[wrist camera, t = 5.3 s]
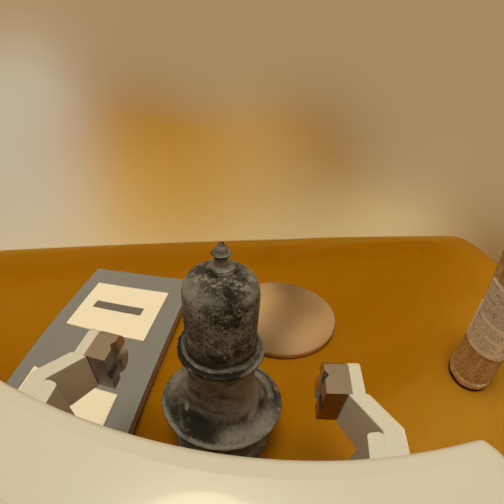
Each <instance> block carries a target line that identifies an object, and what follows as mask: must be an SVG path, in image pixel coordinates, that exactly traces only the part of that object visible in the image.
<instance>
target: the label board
mask: <svg viewBox="0 0 504 504" xmlns="http://www.w3.org/2000/svg"><path fill="white" fill-rule="evenodd" d="M182 283H183V280H181V279H173V278H165V277H157V276H150V275H142V274H135V273H127V272H120V271H113V270H106V269H98V270H97V271H96V272H95V273H94V274H93V275H92V276H91V278H90V279H89V280H88V281H87V282H86V283H85V284H84V285H83V286H82V288H81V289H80V290H79V291H78V292H77V293H76V294H75V296H74V297H73V298H72V299H71V300H70V301H69V303H68V304H67V305H66V306H65V307H64V308H63V310H62V311H61V312H60V313H59V314H58V316H57V317H56V318H55V319H54V320H53V322H52V323H51V324H50V325H49V327H48V328H47V329H46V330H45V332H44V333H43V334H42V335H41V337H40V338H39V339H38V340H37V342H36V343H35V344H34V346H33V347H32V348H31V350H30V351H29V352H28V354H27V355H26V356H25V358H24V359H23V360H22V362H21V363H20V364H19V366H18V367H17V368H16V370H15V371H14V373H13V374H12V375H11V377H10V378H9V380H8V381H7V382H6V384H8V385H10V386H12V387H14V388H16V389H18V390H20V388H21V387H22V385H23V384H24V382H25V381H26V379H27V378H28V376H29V375H30V373H31V372H32V371H34V370H36V369H38V368H40V367H42V366H44V365H46V364H48V363H50V362H52V361H54V360H56V359H58V358H60V357H62V356H64V355H66V354H68V353H70V352H74V351H75V350H76V348H77V347H78V345H79V344H80V343H81V341H82V340H83V338H84V337H85V335H86V334H87V332H88V331H89V330H90V329H92V328H93V329H97V330H101V331H105V332H109V333H113V334H117V335H121V336H123V338H124V341H125V343H124V345H123V346H124V347H125V348H126V349H127V351H128V363H127V366H126V368H125V370H124V371H122V372H121V373H120V376H121V378H120V380H119V382H118V384H117V386H116V388H115V389H114V388H110V387H106V386H102V385H99V384H98V386H97V387H96V388H94V389H93V390H92V391H90V392H89V393H88V394H86V395H85V396H83V397H82V398H81V399H79V400H78V401H77V402H75V403H74V404H73V405H71V406H70V408H71V409H72V411H73V412H74V414H75V416H78V417H80V418H83V419H86V420H88V421H91V422H94V423H97V424H100V425H103V426H106V427H109V428H112V429H115V430H118V431H121V432H125V433H128V434H131V435H133V433H134V431H135V428H136V425H137V423H138V420H139V417H140V415H141V412H142V410H143V407H144V405H145V402H146V400H147V397H148V394H149V392H150V389H151V387H152V384H153V382H154V379H155V377H156V375H157V372H158V370H159V367H160V365H161V362H162V360H163V357H164V355H165V353H166V350H167V348H168V345H169V343H170V341H171V338H172V336H173V333H174V331H175V329H176V326H177V324H178V322H179V319H180V317H181V315H182V312H183V311H182V299H181V287H182Z"/></svg>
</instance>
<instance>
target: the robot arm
mask: <svg viewBox="0 0 504 504" xmlns="http://www.w3.org/2000/svg"><path fill="white" fill-rule="evenodd" d="M124 343H125V341H124V338H123V336H121V335H117V334H113V333H109V332H105V331H101V330H97V329H93V328H92V329H90V330H89V331H88V332H87V334H86V335H85V337H84V338H83V340H82V341H81V343H80V344H79V345H78V347H77V348H76V350H75V351H74V352H70V353H68V354H66V355H64V356H62V357H60V358H58V359H56V360H54V361H52V362H50V363H48V364H46V365H44V366H42V367H40V368H38V369H36V370H34V371H32V372H31V373H30V375H29V376H28V378H27V379H26V381H25V382H24V384H23V385H22V387H21V388H20V390H18V389H16V388H14V387H12V386H10V385H8V384H6V383H4V382H3V381H1V380H0V504H504V456H503V455H502V454H501V453H500V452H498V451H497V450H496V449H495V448H494V447H492V446H491V445H490V444H488V443H487V442H485V441H483V440H477V441H472V442H468V443H464V444H460V445H456V446H451V447H447V448H442V449H437V450H432V451H426V452H420V453H414V454H410V452H409V447H408V443H407V438H406V434H405V429H404V428H403V427H402V426H401V425H400V424H399V423H398V422H397V421H396V420H395V419H394V418H393V417H392V416H391V415H390V414H389V413H388V412H387V411H386V410H385V409H383V408H382V407H381V406H380V405H379V404H378V403H377V402H376V401H375V400H374V399H373V398H372V397H371V396H370V395H369V394H366V392H365V387H364V382H363V377H362V373H361V368H360V365H359V363H331V362H322V364H321V366H320V374H319V375H317V378H316V382H315V398H316V399H317V402H316V405H315V412H316V419H324V420H336V422H337V423H338V424H339V426H340V427H341V429H342V430H343V431H344V433H345V434H346V436H347V437H348V438H349V440H350V441H351V442H352V444H353V445H354V447H355V448H356V449H357V450H356V451H355V452H354V454H353V455H352V456H351V457H350V459H349V460H336V461H300V460H277V459H263V458H252V457H243V456H234V455H227V454H220V453H213V452H207V451H201V450H196V449H190V448H185V447H180V446H175V445H171V444H166V443H162V442H158V441H154V440H150V439H146V438H142V437H139V436H135V435H131V434H128V433H125V432H121V431H118V430H115V429H112V428H109V427H106V426H103V425H100V424H97V423H94V422H91V421H88V420H86V419H83V418H80V417H78V416H75V414H74V412H73V411H72V409H71V408H70V406H71V405H73V404H74V403H75V402H77V401H78V400H79V399H81V398H82V397H83V396H85V395H86V394H88V393H89V392H90V391H92V390H93V389H94V388H96V387H97V386H98V384H99V385H102V386H106V387H110V388H114V389H115V388H116V386H117V384H118V382H119V380H120V378H121V376H120V373H121V372H122V371H124V370H125V368H126V366H127V363H128V351H127V349H126V348H125V347H124V346H123V345H124Z"/></svg>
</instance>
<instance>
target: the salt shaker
mask: <svg viewBox="0 0 504 504" xmlns="http://www.w3.org/2000/svg"><path fill="white" fill-rule="evenodd" d="M211 255H212V256H213V257H215V259H212V260H207V261H205V262H202V263H200V264H198V265H196V266H195V267H193V268H192V269H191V270H190V271H189V273H188V274H187V275H186V276H185V277H184V280H183V283H182V287H181V299H182V311H183V322H184V331H183V332H182V334H181V335H180V337H179V338H178V343H177V353H178V357H179V359H180V361H181V363H182V365H183V366H184V367H182V368H180V369H179V370H178V371H177V372H176V373H175V374H174V375H173V376H172V377H170V379H169V381H168V382H167V384H166V386H165V388H164V391H163V396H162V408H163V414H164V416H165V418H166V420H167V422H168V424H169V426H170V427H171V428H172V429H173V430H174V431H175V433H176V434H177V440H178V444H179V445H180V447H185V448H190V449H196V450H201V451H207V452H213V453H220V454H227V455H234V456H243V457H252V458H258V457H259V456H260V455H261V453H262V452H263V450H264V449H265V447H266V444H267V440H268V434H269V433H270V432H271V431H272V429H273V428H274V426H275V424H276V423H277V421H278V419H279V415H280V411H281V407H282V405H281V395H280V392H279V390H278V388H277V385H276V383H275V382H274V381H273V380H272V378H271V377H270V376H269V375H268V374H267V373H266V372H265V371H263V370H262V369H260V368H259V367H258V366H259V365H260V364H261V362H262V361H263V357H264V354H265V344H264V341H263V339H262V337H261V335H260V334H259V333H258V332H257V329H258V319H259V309H260V299H261V291H260V284H259V281H258V279H257V277H256V276H255V274H254V273H253V272H252V271H251V270H250V269H249V268H248V267H246V266H245V265H243V264H241V263H238V262H236V261H233V260H229V259H228V257H230V256H231V255H232V252H231V251H230V250H229V249H228V247H227V246H226V245H225V244H224V242H223V241H220V242H219V244H218V245H216V246H215V249H213V250H212V251H211Z"/></svg>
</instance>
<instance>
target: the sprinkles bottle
mask: <svg viewBox="0 0 504 504" xmlns="http://www.w3.org/2000/svg"><path fill="white" fill-rule="evenodd" d="M503 361H504V250H503V254H502V256H501V259H500V262H499V264H498V266H497V268H496V270H495V274H494V275H493V278H492V281H491V283H490V285H489V287H488V289H487V292H486V293H485V296H484V297H483V299H482V301H481V303H480V305H479V307H478V309H477V311H476V313H475V315H474V317H473V319H472V321H471V323H470V325H469V327H468V329H467V333H466V334H465V336H464V338H463V340H462V342H461V343H460V345H459V347H458V349H457V351H456V352H454V353H453V355H452V357H451V359H450V370H451V372H452V374H453V376H454V377H455V379H456V380H457V381H458V382H459V383H460V384H461V385H463V386H464V387H467V388H469V389H474V390H480V389H483V388H485V387H487V386H488V385H489V383H490V382H491V380H492V377H493V376H494V375H495V373H496V371H497V370H498V369H499V367H500V366H501V364H502V363H503Z"/></svg>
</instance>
